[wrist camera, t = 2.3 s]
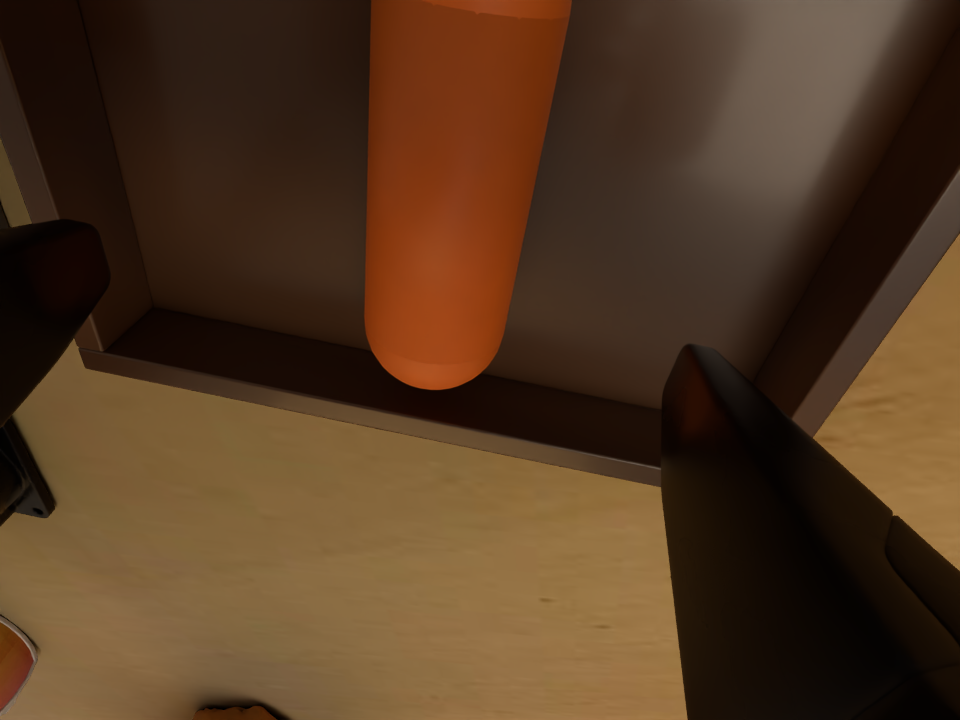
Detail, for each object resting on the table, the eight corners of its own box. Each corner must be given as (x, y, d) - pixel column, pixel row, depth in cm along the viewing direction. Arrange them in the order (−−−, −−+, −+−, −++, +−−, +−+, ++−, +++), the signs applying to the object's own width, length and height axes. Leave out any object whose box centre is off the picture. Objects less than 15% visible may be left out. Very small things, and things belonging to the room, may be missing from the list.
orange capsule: (500, 348, 17) (483, 431, 15) (383, 324, 18) (345, 402, 15) (594, -110, 11) (599, -119, 8) (405, -144, 11) (342, -166, 8)
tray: (740, 435, 19) (762, 509, 16) (145, 314, 19) (84, 369, 17) (1102, -165, 10) (1267, -191, 7) (-33, -364, 10) (-216, -447, 8)
